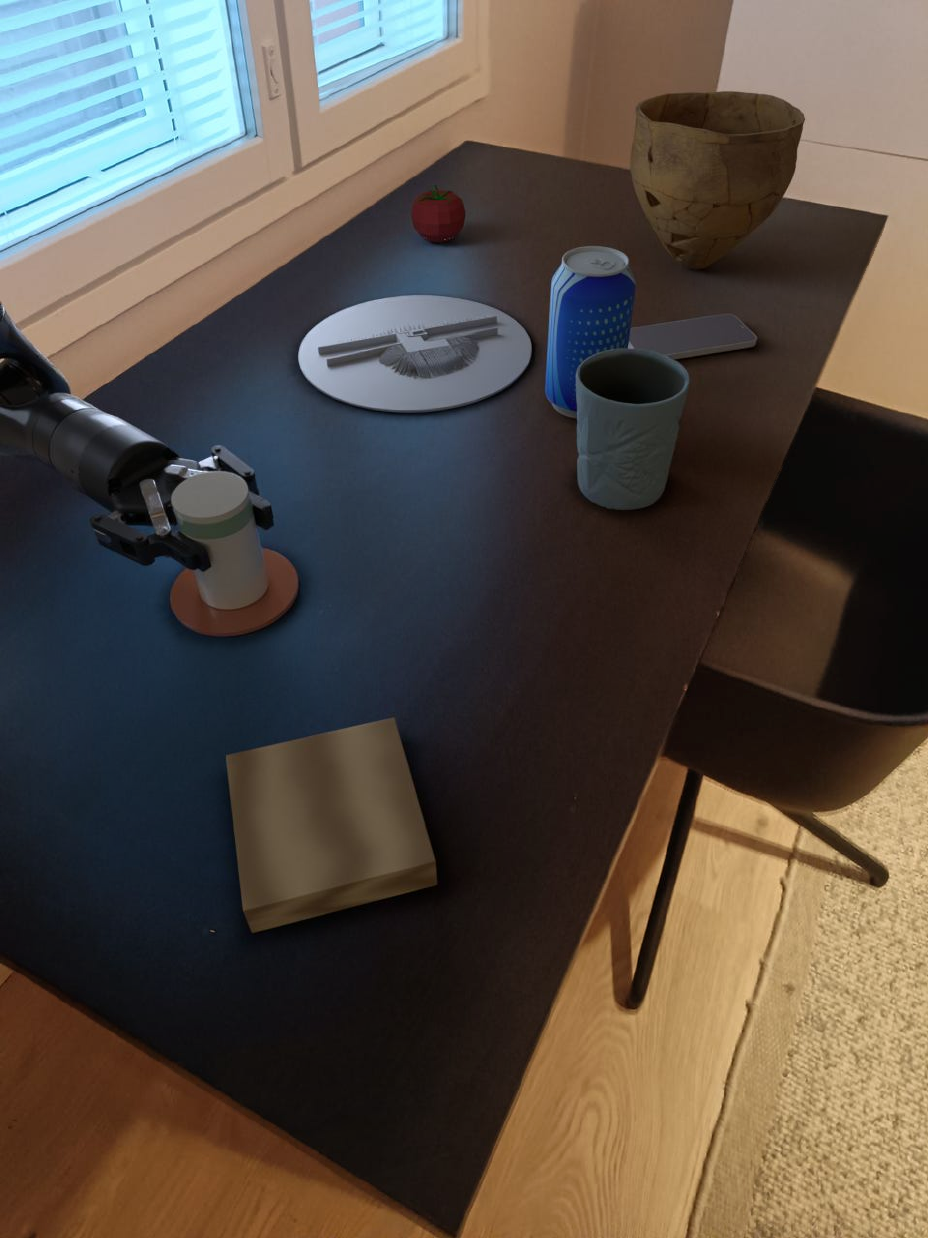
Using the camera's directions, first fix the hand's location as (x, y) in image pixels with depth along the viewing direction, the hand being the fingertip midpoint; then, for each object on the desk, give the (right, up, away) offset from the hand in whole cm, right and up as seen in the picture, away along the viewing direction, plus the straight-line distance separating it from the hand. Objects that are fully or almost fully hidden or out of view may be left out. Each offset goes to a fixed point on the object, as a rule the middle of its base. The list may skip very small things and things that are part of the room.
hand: (238, 539), depth 72 cm
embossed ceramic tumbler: (+33, +7, +16) cm, 38 cm away
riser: (+9, -21, -11) cm, 25 cm away
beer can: (+31, +17, +27) cm, 45 cm away
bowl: (+50, +42, +51) cm, 83 cm away
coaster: (-2, -4, +6) cm, 7 cm away
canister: (-2, -4, +6) cm, 7 cm away
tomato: (+15, +49, +59) cm, 78 cm away
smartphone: (+45, +27, +36) cm, 64 cm away
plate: (+12, +26, +36) cm, 46 cm away
